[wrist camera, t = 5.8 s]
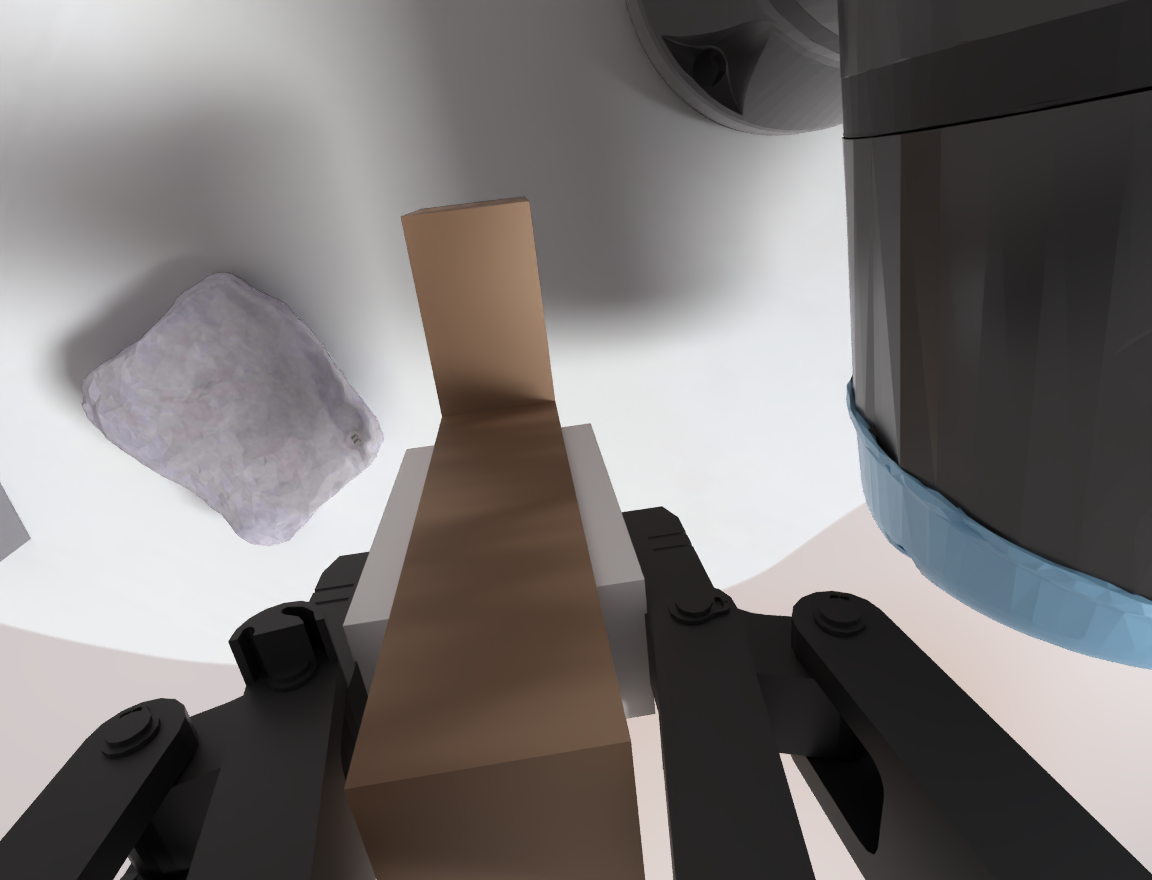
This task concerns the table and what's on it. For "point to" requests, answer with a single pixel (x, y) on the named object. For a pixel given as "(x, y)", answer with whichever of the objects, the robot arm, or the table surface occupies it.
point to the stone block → (236, 408)
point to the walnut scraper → (493, 604)
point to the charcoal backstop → (10, 527)
